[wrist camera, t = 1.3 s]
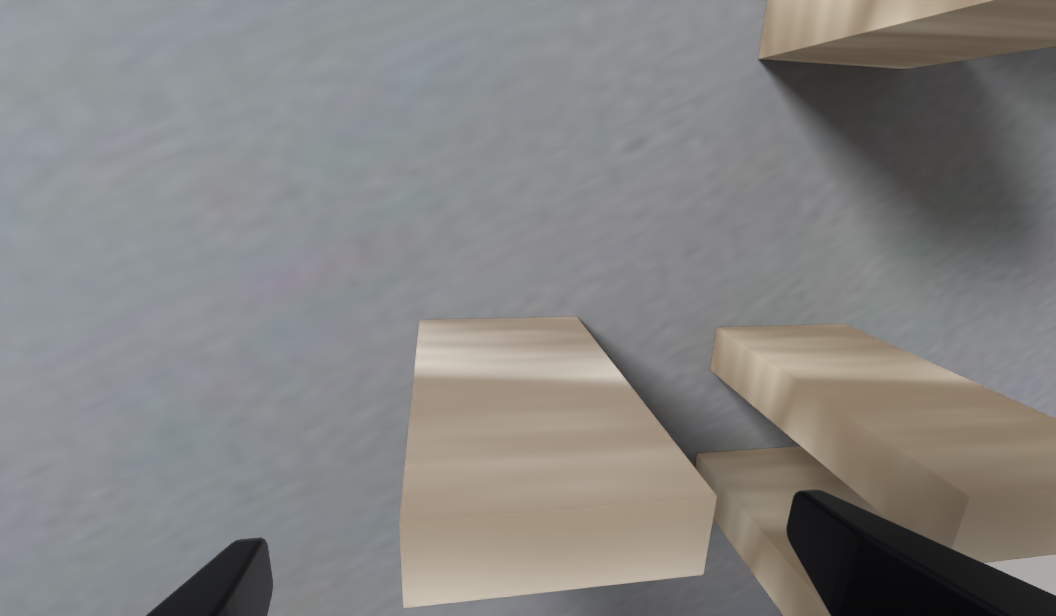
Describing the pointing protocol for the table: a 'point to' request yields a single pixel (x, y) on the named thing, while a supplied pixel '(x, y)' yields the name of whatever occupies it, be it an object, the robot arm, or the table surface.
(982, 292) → the table surface
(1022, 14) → the domino
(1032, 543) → the domino
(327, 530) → the table surface
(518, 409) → the domino
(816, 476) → the domino
